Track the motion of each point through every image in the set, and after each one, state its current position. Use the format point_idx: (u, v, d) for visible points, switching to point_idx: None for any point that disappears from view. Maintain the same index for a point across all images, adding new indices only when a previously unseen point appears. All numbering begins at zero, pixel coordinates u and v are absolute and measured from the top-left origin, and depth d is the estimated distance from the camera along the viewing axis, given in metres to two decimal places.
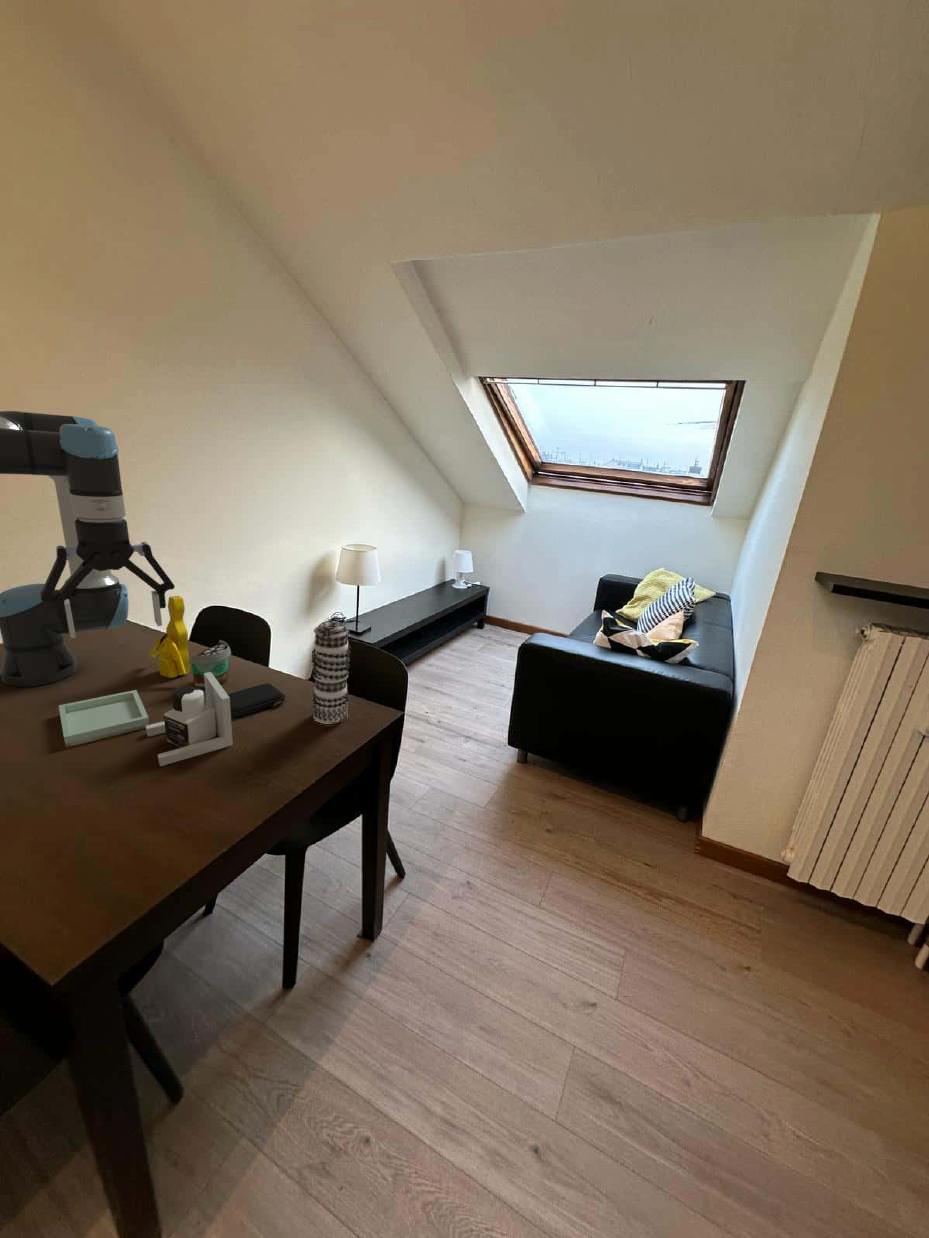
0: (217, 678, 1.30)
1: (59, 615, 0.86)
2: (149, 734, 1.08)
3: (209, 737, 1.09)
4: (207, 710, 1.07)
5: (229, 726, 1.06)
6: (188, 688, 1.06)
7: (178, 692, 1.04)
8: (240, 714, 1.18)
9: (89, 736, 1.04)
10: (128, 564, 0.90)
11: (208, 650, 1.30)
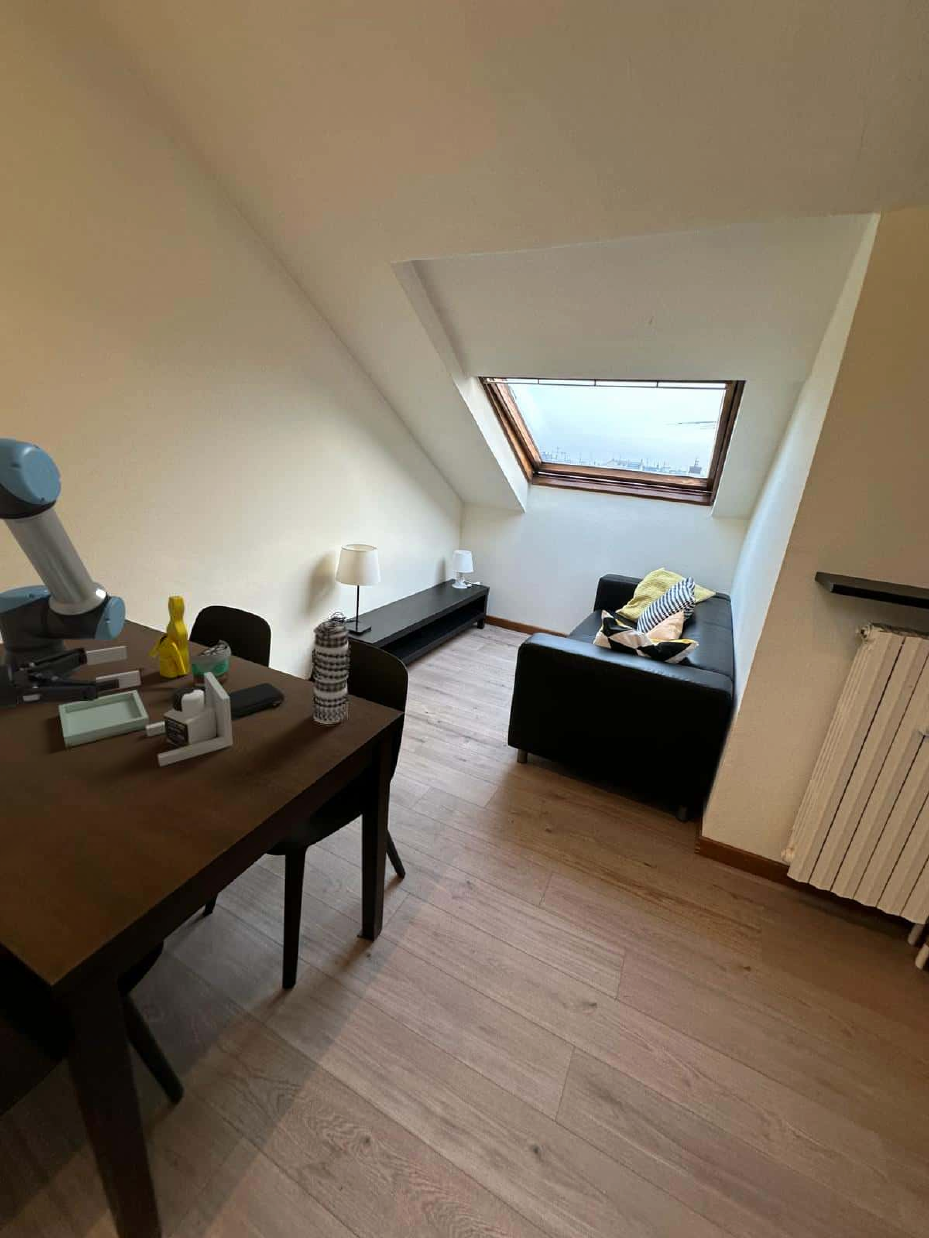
0: (217, 678, 1.30)
1: None
2: (149, 734, 1.08)
3: (209, 737, 1.09)
4: (207, 710, 1.07)
5: (229, 726, 1.06)
6: (188, 688, 1.06)
7: (178, 692, 1.04)
8: (240, 714, 1.18)
9: (89, 736, 1.04)
10: None
11: (208, 650, 1.30)
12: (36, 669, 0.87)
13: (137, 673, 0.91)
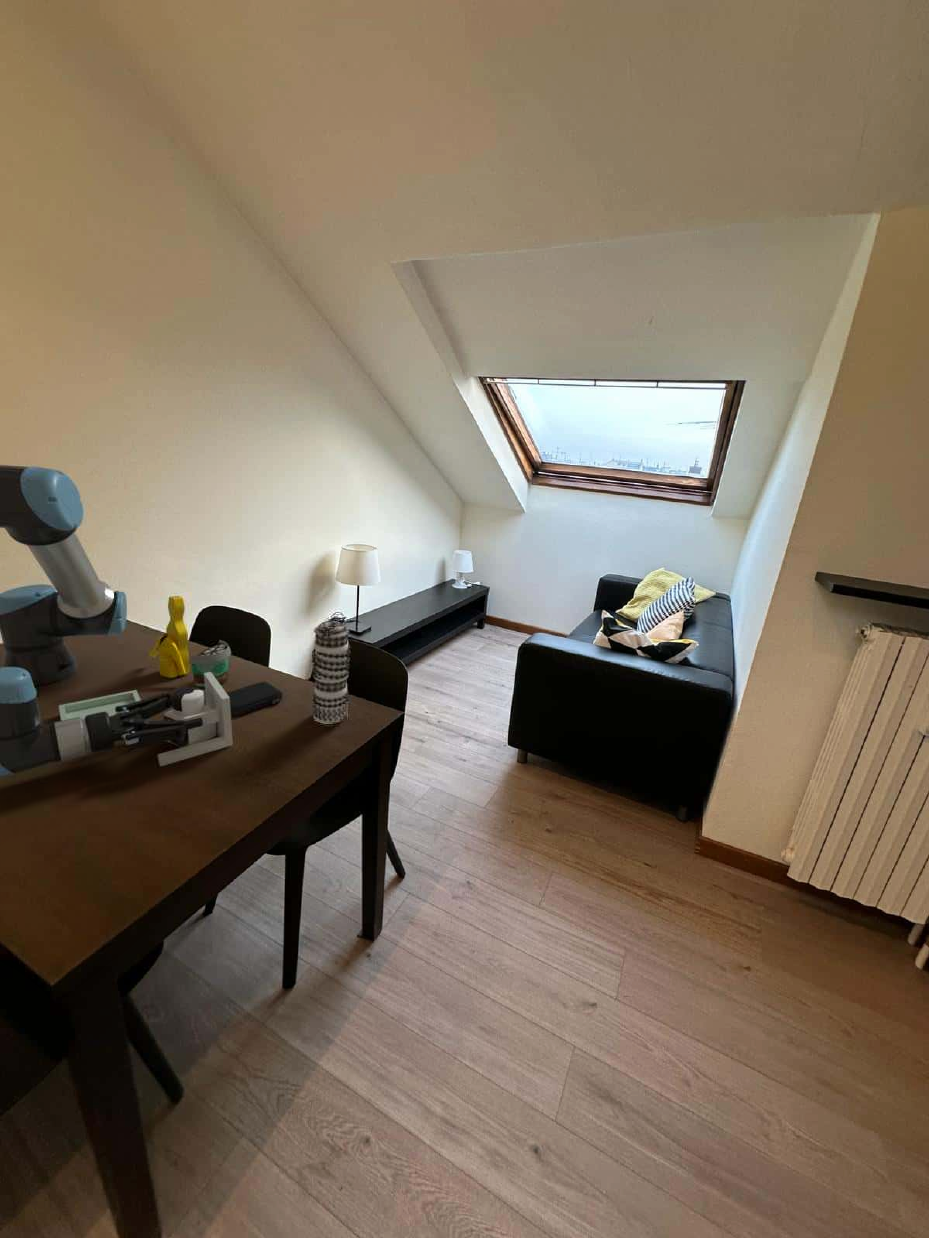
0: (217, 678, 1.30)
1: None
2: None
3: (209, 737, 1.09)
4: (207, 710, 1.07)
5: (229, 726, 1.06)
6: (188, 688, 1.06)
7: (178, 692, 1.04)
8: (240, 713, 1.19)
9: None
10: None
11: (208, 650, 1.30)
12: (127, 715, 0.99)
13: (216, 712, 1.05)
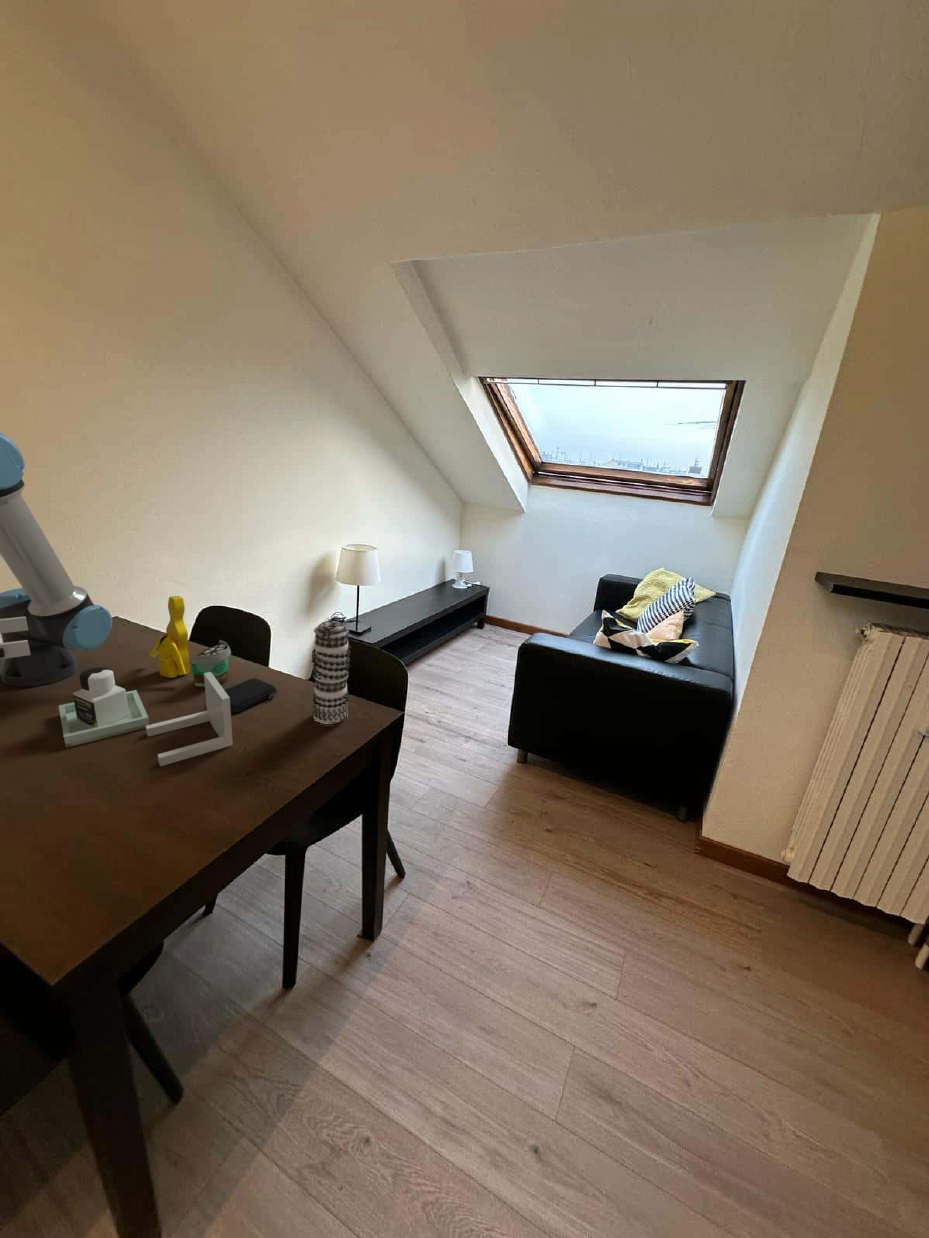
0: (217, 678, 1.30)
1: None
2: (149, 734, 1.08)
3: (120, 717, 1.11)
4: (117, 690, 1.09)
5: (229, 726, 1.06)
6: (98, 668, 1.08)
7: (86, 672, 1.06)
8: (239, 709, 1.20)
9: (89, 736, 1.04)
10: None
11: (208, 650, 1.30)
12: None
13: (25, 643, 0.88)
